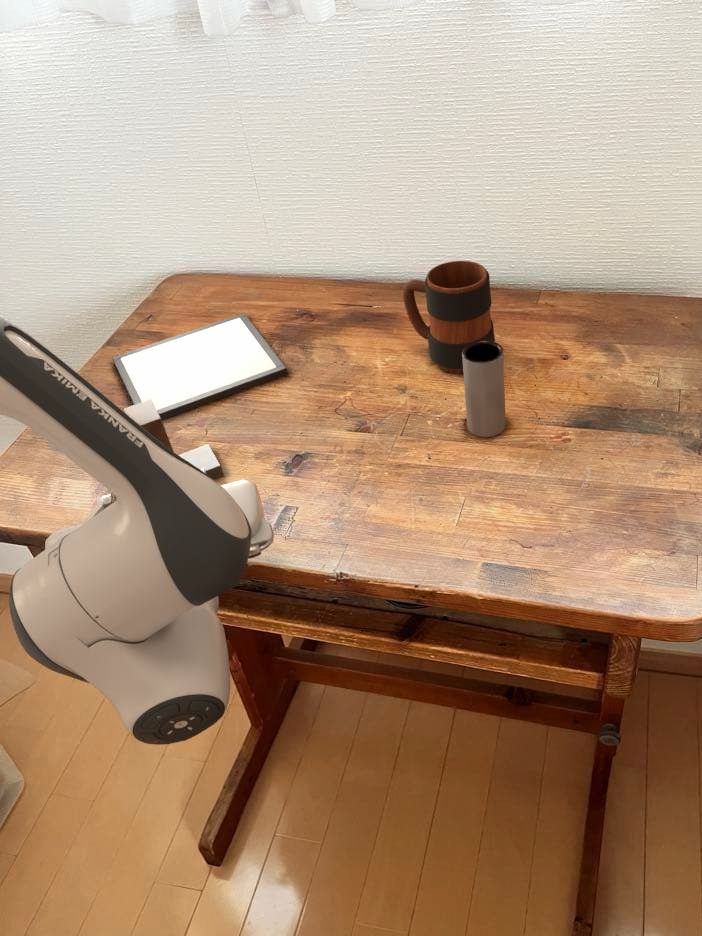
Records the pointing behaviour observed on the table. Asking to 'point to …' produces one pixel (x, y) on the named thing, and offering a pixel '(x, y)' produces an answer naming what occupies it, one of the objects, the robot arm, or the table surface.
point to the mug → (452, 310)
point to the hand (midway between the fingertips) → (153, 487)
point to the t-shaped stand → (153, 424)
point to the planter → (484, 388)
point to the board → (199, 366)
